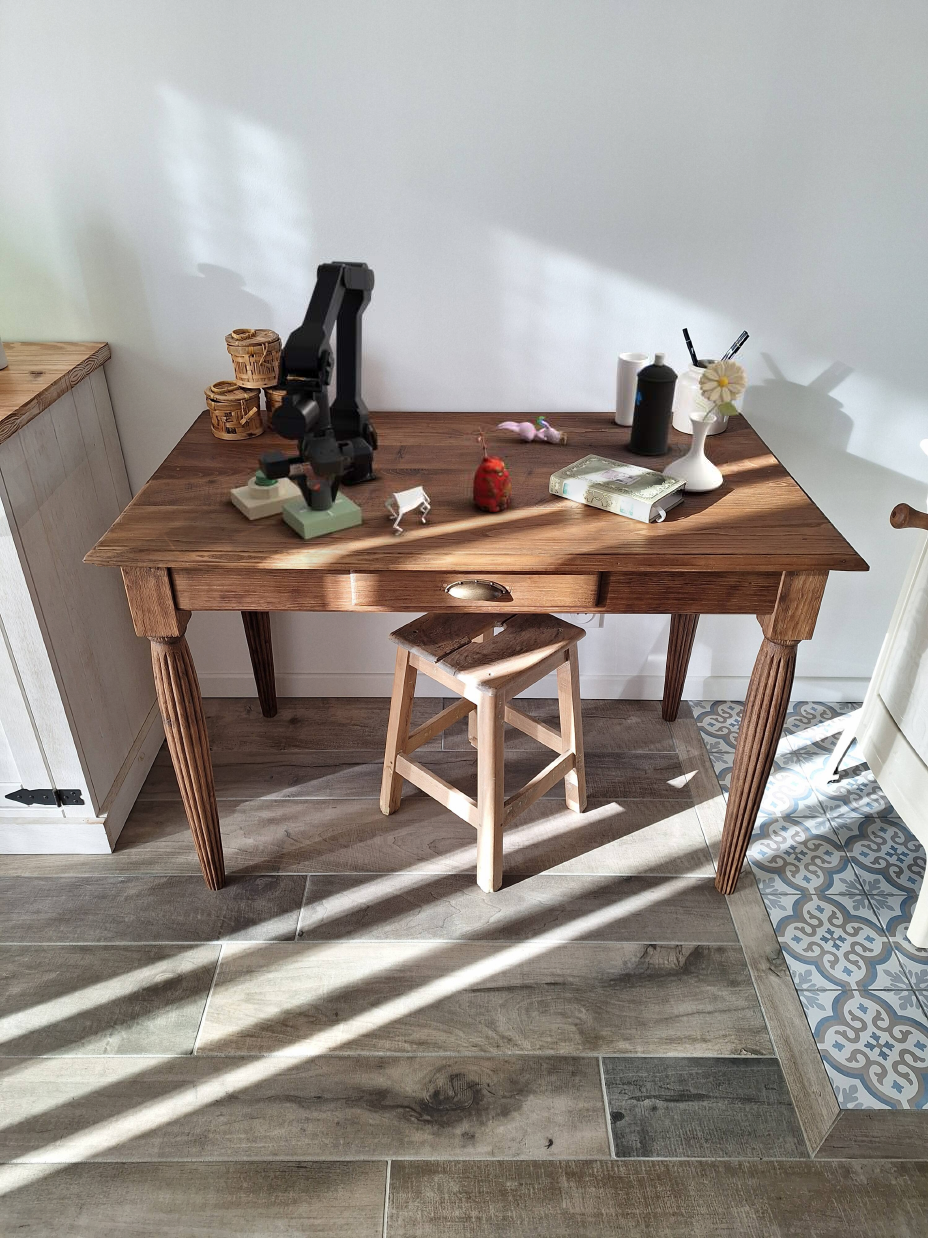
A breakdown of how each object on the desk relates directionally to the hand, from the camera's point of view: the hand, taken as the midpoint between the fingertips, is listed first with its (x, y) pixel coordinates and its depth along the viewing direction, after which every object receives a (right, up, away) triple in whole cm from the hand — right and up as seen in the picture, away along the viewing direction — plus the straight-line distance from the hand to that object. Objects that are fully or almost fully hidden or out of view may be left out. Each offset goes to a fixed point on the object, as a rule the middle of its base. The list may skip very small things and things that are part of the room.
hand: (320, 503), depth 149 cm
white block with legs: (+15, -4, +2) cm, 15 cm away
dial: (0, 0, 0) cm, 0 cm away
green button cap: (-11, +4, +6) cm, 13 cm away
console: (0, -3, +2) cm, 4 cm away
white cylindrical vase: (+62, +24, +45) cm, 80 cm away
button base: (-11, +1, +8) cm, 13 cm away
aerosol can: (+64, +16, +32) cm, 73 cm away
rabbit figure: (+40, +18, +35) cm, 56 cm away
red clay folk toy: (+30, +1, +8) cm, 31 cm away
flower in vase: (+70, +5, +16) cm, 72 cm away
